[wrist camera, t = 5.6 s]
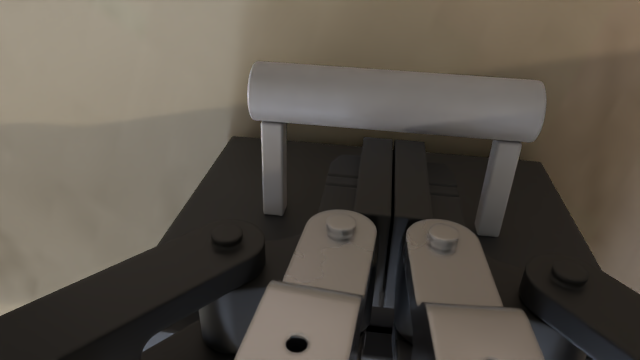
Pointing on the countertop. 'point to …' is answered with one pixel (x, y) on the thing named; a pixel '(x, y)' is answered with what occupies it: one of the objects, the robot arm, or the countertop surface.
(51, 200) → the countertop surface
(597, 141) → the countertop surface
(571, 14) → the countertop surface
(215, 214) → the open drawer cabinet
